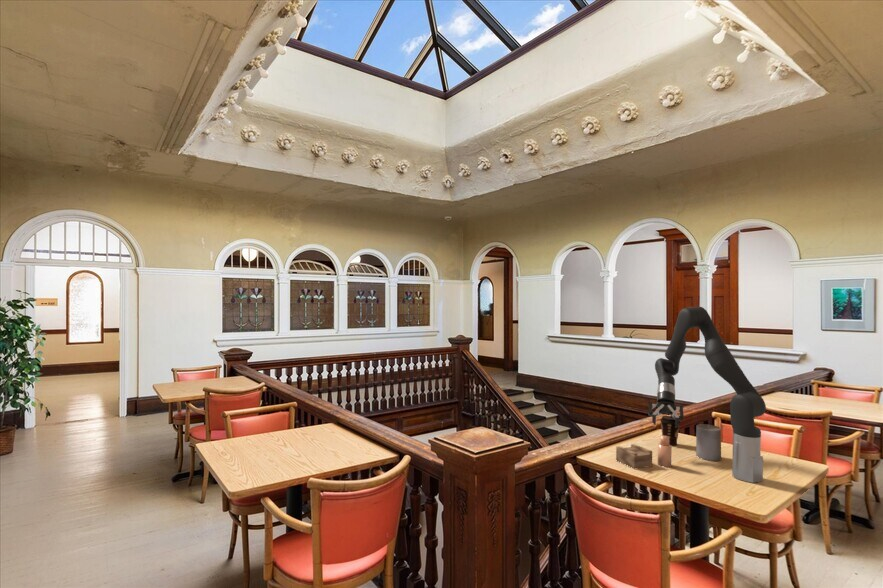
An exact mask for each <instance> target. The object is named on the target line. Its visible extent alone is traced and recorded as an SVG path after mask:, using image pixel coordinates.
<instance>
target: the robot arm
mask: <svg viewBox="0 0 883 588" xmlns="http://www.w3.org/2000/svg"><path fill="white" fill-rule="evenodd" d="M695 328H698V329H699V330H700V332H701V334H702V336H703V338H704V356H705V358H706V360H707V363H709V365H710V366H711V368H712V370H713V371H714V372H715V373H716V374H717V375H718V376H719V377H720V378H722V379H723V380H724V381H725V382H727V384H729V385H730V386H731V387H732V389H733V390H734V391H735V393H736V394H735V395H733V396H732V398H731V399H730V405H729V406H730V408H729V410H730V411H729V413H730V425H731V427H732V459H731V460H732V463H731V464H732V469H731V470H732V471H731V473H732V474H731V476H732V477H734V479H737V480H740V481H743V482H746V483H747V482H748V483H752V484H754V483H760V482H763V481H764V479H763V476H764V457H763V456H762V455H761V449H762V447H761V446H762V445H761V444H762V441H761V440H762V438H761V437H762V431H761V429H760V428H759V427H757V426H756V425H755V418H757V417H762V416H763V415H765V413H766V410H767V406H766V403H765V400H764V398H763V397H762V396H761V394H760V393H759V392H758V391H757V389H756V388H755V387H754V386H753V384H752V383H751V382H750V380H749V379H748V378H747V376H746V375H745V373H744V371H743V370H742V368H741V366H740V365H739V364H738V362H737V360H736V359H735V357H734V355H733V354H732V352H731V351H730V349H729V348H728V346H727V345H726V343H725V342H724V340H723V339H722V337H721V335H720V334H719V332H718V330H717V328H716V326H715V324H714V322H713V320H712V318H711V316H710V314H709V312H708V311H707V310H706V309H705V308H704V307H703V306H689V307H685V308H682V309H681V310H680V311H679V312H678V315H677V319H676V322H675V326H674V330H673V334H672V337H671V340H670V342H669V344H668V347H666V350H665V352H664V356H665V358H663V357H660V358H658V359H657V360H655V363H654V369H655V373H656V375H657V376H656V377H657V378H658V385H657V391H656V392H657V393H656V395H657V396H656V403H653V402H651V401H650V402H649V403H648V404H649V405H648V412H647V413H648V415H647V416H648V417H652V421H651V422H652V424H653V425H654V426H657V425H656V424H657V423H656V420H657V417H658V416H660V415H661V414H662V416H672V417H674V418H675V428H677V427H678V426H679V427H680V423H679V421H684V407H683V405H680V406H676V387H675V384H676V378H675V377H674V376H676V375H678V373H679V370H680V361H681V359H682V357H683V355H684V353H685V351H686V349H687V342H686V334H687V332H688V331H689V330H690V329H695ZM655 408H656V409H655ZM653 409H655V411H654V412H652V411H653ZM676 411H678V413H679V415H678V414H677V412H676Z"/></svg>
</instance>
